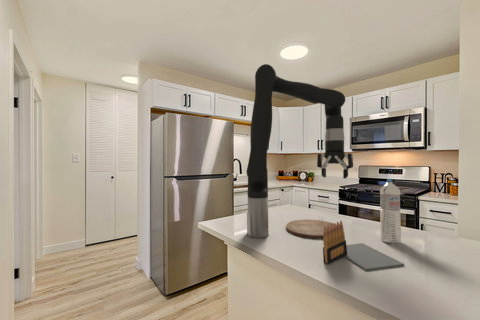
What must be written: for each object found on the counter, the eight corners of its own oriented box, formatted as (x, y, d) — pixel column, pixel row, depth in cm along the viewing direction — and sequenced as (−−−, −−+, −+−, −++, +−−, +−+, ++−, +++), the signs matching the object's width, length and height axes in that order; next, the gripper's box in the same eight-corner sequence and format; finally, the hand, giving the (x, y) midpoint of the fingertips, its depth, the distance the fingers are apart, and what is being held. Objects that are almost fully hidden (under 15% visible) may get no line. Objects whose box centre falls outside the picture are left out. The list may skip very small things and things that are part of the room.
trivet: (351, 239, 96) (351, 234, 96) (291, 240, 97) (291, 235, 97) (329, 222, 122) (329, 219, 121) (282, 223, 122) (282, 219, 122)
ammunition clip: (328, 264, 73) (325, 228, 73) (323, 262, 75) (320, 226, 75) (347, 254, 79) (344, 220, 79) (342, 252, 81) (340, 219, 81)
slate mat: (365, 271, 69) (365, 269, 69) (330, 248, 87) (330, 246, 87) (404, 265, 72) (404, 263, 72) (362, 244, 90) (362, 243, 90)
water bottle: (398, 239, 94) (398, 179, 94) (402, 245, 88) (401, 180, 87) (379, 237, 97) (378, 178, 96) (381, 243, 90) (380, 180, 90)
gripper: (314, 140, 99) (314, 177, 100) (350, 138, 90) (349, 179, 91) (321, 141, 105) (321, 176, 105) (354, 139, 96) (354, 178, 96)
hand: (334, 177), depth 98 cm, fingers open, 8 cm apart
